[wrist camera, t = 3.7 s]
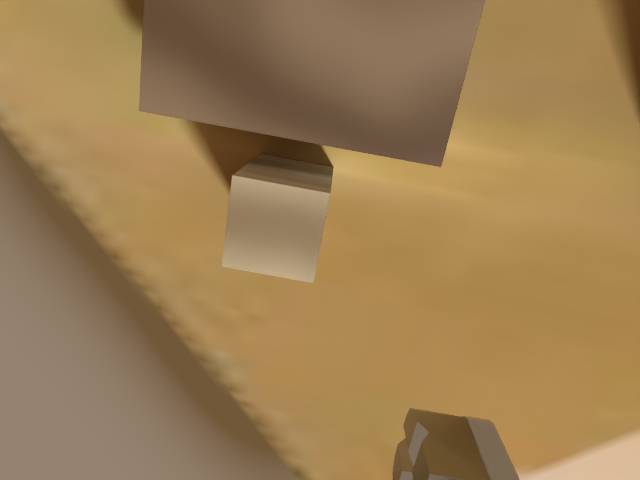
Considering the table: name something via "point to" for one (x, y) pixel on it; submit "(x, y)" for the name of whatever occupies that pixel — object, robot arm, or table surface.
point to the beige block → (277, 217)
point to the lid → (313, 69)
